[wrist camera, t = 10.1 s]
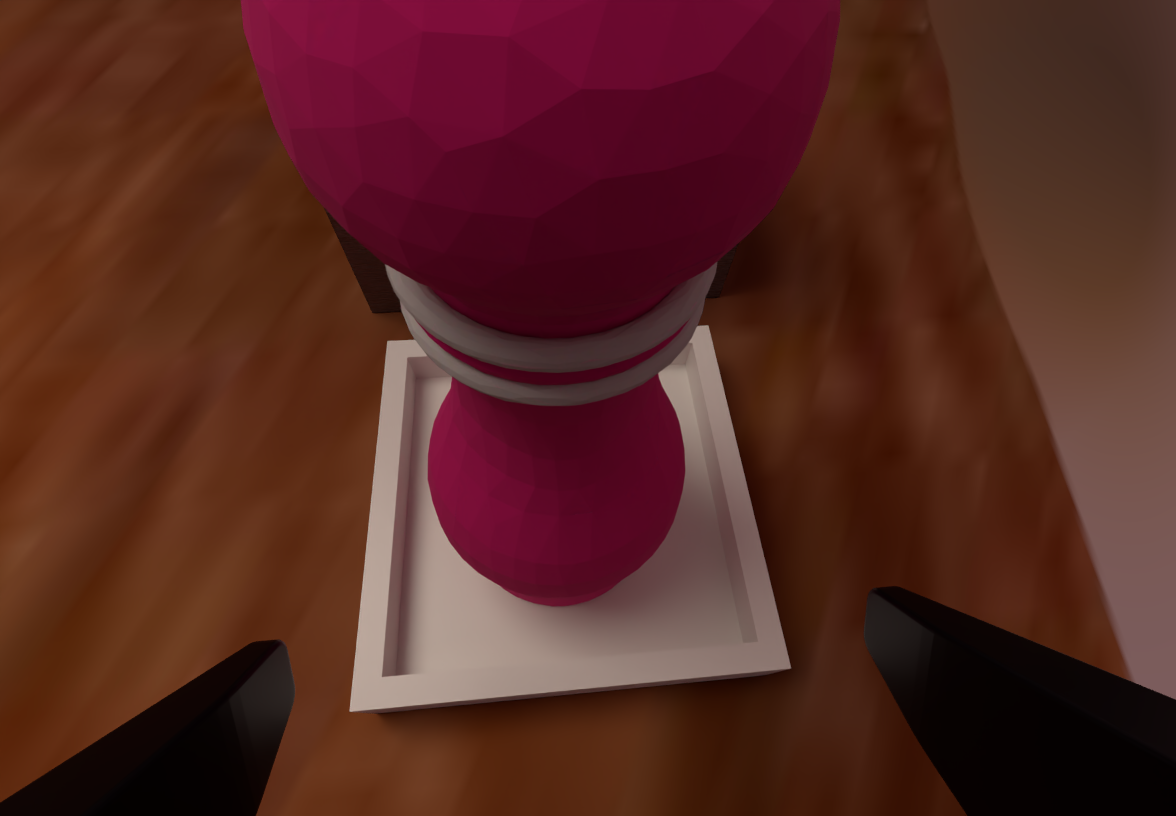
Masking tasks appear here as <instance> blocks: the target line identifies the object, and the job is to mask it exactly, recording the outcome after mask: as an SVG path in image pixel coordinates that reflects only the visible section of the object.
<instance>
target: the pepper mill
mask: <svg viewBox="0 0 1176 816" xmlns="http://www.w3.org/2000/svg"><path fill="white" fill-rule="evenodd" d="M241 6H242V16H243V27H244V32H245V36H246V39H247V42H248V45H249V48H250V51H251V54H252V58H253V61H254V64H255V67H256V70H257V73H258V76H259V80H260V83H261V86H262V89H263V92H264V95H265V99H266V102H267V105H268V108H269V111H270V114H271V117H272V121H273V124H274V126H275V128H276V130H277V132H278V134H279V136H280V138H281V140H282V142H283V144H284V146H285V148H286V150H287V152H288V154H289V156H290V158H291V160H292V162H293V163H294V165H295V167H296V169H297V170H298V172H299V174H300V175H301V177H302V179H303V181H304V182H305V184H306V186H307V188H308V189H309V191H310V192H311V193H312V194H313V195H314V197H315V198H316V199H317V200H318V201H319V202H320V203H321V204H322V205H323V207H324V208H325V209H326V210H327V211H328V212H329V213H330V214H331V215H332V217H333V218H334V219H335V220H336V221H337V222H338V223H339V224H340V225H341V226H342V227H343V228H344V229H345V230H346V231H347V232H348V233H349V234H350V235H351V236H352V237H354V238H355V239H356V240H357V241H358V242H359V243H361V244H362V245H363V246H364V247H365V248H366V249H368V250H369V251H370V252H371V253H372V254H373V255H375V256H376V257H377V258H378V259H379V260H380V261H382V262H383V263H384V264H385V266H386V271H387V275H388V278H389V280H390V282H391V285H392V287H393V289H394V292H395V293H396V295H397V296H398V298H399V300H400V304H401V310H402V313H403V316H404V318H405V320H406V323H407V325H408V328H409V330H410V332H411V334H412V335H413V337H414V339H415V340H416V342H417V343H418V344H419V346H420V347H421V348H422V350H423V351H424V352H425V353H426V355H427V356H428V357H429V358H430V359H431V360H432V361H433V362H434V363H435V364H436V365H437V366H438V367H439V368H441V369H442V370H443V371H445V372H446V373H448V374H449V375H450V376H452V382H451V389H450V390H449V392H448V394H447V396H446V397H445V399H444V401H443V403H442V404H441V406H440V409H439V411H438V413H437V416H436V418H435V420H434V424H433V428H432V433H431V437H430V443H429V451H428V478H427V479H428V484H429V488H430V493H431V497H432V502H433V505H434V508H435V511H436V514H437V516H438V519H439V522H440V525H441V527H442V529H443V531H444V533H445V535H446V537H447V538H448V540H449V542H450V544H451V545H452V546H453V547H454V549H455V550H456V551H457V553H458V554H459V555H460V556H461V558H462V559H463V560H464V561H466V562H467V563H468V564H469V565H470V566H471V567H472V568H473V569H474V570H476V571H477V572H478V573H479V574H481V575H482V576H484V577H486V578H487V579H489V580H491V581H492V582H494V583H496V584H497V585H500V586H501V587H502V588H503V589H504V590H506V591H508V592H509V593H511V594H513V595H514V596H516V597H518V598H521V599H523V600H526V601H529V602H532V603H535V604H541V605H547V606H569V605H576V604H579V603H583V602H586V601H590V600H592V599H594V598H596V597H598V596H601V595H603V594H604V593H606V592H607V591H609V590H610V589H612V588H613V587H614V586H615V585H617V584H618V583H619V582H620V581H621V580H623V579H624V578H626V577H627V576H629V575H630V574H632V573H633V572H635V571H636V570H638V569H639V568H640V567H641V566H642V565H643V564H644V563H645V562H646V561H647V560H648V559H649V558H650V557H652V556H653V554H654V553H655V552H656V550H657V549H658V548H659V546H660V545H661V544H662V542H663V541H664V540H665V538H666V536H667V534H668V532H669V530H670V528H671V526H672V524H673V522H674V519H675V516H676V513H677V509H678V506H679V503H680V499H681V495H682V491H683V486H684V479H685V472H686V470H685V449H684V443H683V438H682V433H681V427H680V423H679V420H678V417H677V414H676V411H675V409H674V407H673V405H672V403H671V401H670V399H669V398H668V396H667V394H666V392H665V390H664V389H663V387H662V384H661V382H660V379H659V374H658V373H659V372H660V371H662V370H663V369H664V368H666V367H667V366H668V365H670V364H671V363H672V362H673V361H674V359H675V358H676V357H677V356H678V355H679V354H680V353H681V352H682V350H683V349H684V348H685V347H686V345H687V344H688V343H689V341H690V340H691V339H692V336H693V334H694V332H695V330H696V327H697V325H698V323H699V320H700V317H701V315H702V312H703V307H704V302H705V296H706V295H707V293H708V291H709V288H710V286H711V284H712V281H713V279H714V277H715V273H716V268H717V261H718V260H719V259H721V258H722V257H723V256H724V255H725V254H726V253H728V252H729V251H730V250H731V249H732V248H733V247H735V246H736V245H737V244H738V243H739V242H740V241H742V240H743V239H744V238H745V237H746V236H747V235H749V234H750V233H751V232H752V230H753V229H754V228H755V227H756V226H757V225H758V224H759V223H760V222H761V221H762V220H763V219H764V218H765V217H766V216H767V215H768V214H769V213H770V212H771V211H772V210H773V208H774V206H775V205H776V203H777V201H778V199H779V198H780V196H781V194H782V192H783V191H784V189H785V187H786V185H787V184H788V182H789V180H790V178H791V177H792V175H793V173H794V171H795V170H796V168H797V166H798V164H799V162H800V160H801V158H802V155H803V153H804V151H805V149H806V146H807V144H808V142H809V140H810V137H811V134H812V131H813V129H814V126H815V123H816V120H817V117H818V114H819V111H820V109H821V106H822V103H823V100H824V97H825V94H826V91H827V89H828V84H829V79H830V73H831V67H832V62H833V56H834V50H835V45H836V39H837V33H838V28H839V22H840V0H241Z"/></svg>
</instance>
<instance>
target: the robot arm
mask: <svg viewBox="0 0 1176 816" xmlns="http://www.w3.org/2000/svg"><path fill="white" fill-rule="evenodd" d="M864 639H865V643H866V646H867V649H868V651H869V653H870V654H871V656H872V658H873V660H874V662H875V664H876V665H877V667H878V669H879V671H880V673H881V675H882V677H883V678H884V680H885V682H886V684H887V686H888V688H889V689H890V691H891V693H892V695H893V697H894V699H895V700H896V702H897V704H898V706H899V708H900V710H901V712H902V713H903V715H904V717H905V719H906V721H907V723H908V724H909V726H910V728H911V730H912V731H913V733H914V735H915V736H916V738H917V740H918V742H919V743H920V745H921V746H922V748H923V749H924V751H925V753H926V754H927V756H928V757H929V759H930V760H931V762H932V763H933V765H934V766H935V768H936V769H937V771H938V772H939V774H940V775H941V777H942V778H943V780H944V781H945V783H946V784H947V786H948V787H949V789H950V790H951V792H952V793H953V795H954V796H955V798H956V799H957V801H958V802H959V804H960V805H961V807H962V808H963V810H964V811H965V813H966V814H967V816H1176V700H1175V699H1173V698H1170V697H1168V696H1165V695H1163V694H1160V693H1158V692H1156V691H1153V690H1151V689H1148V688H1146V687H1143V686H1141V685H1139V684H1136V683H1134V682H1131V681H1129V680H1126V679H1124V678H1121V677H1119V676H1116V675H1114V674H1112V673H1109V672H1107V671H1104V670H1102V669H1099V668H1097V667H1094V666H1092V665H1090V664H1087V663H1085V662H1082V661H1080V660H1077V659H1075V658H1072V657H1070V656H1067V655H1065V654H1063V653H1060V652H1058V651H1055V650H1053V649H1050V648H1048V647H1045V646H1043V645H1040V644H1038V643H1036V642H1033V641H1031V640H1028V639H1026V638H1023V637H1021V636H1018V635H1016V634H1014V633H1011V632H1009V631H1006V630H1004V629H1001V628H999V627H996V626H994V625H991V624H989V623H987V622H984V621H982V620H979V619H977V618H974V617H972V616H969V615H967V614H965V613H962V612H960V611H957V610H955V609H952V608H950V607H947V606H945V605H942V604H940V603H938V602H935V601H933V600H930V599H928V598H925V597H923V596H920V595H918V594H915V593H913V592H911V591H908V590H906V589H903V588H901V587H897V586H891V587H880V588H873V589H872V590H871V591H870V592H869V594H868V598H867V607H866V617H865V626H864ZM294 697H295V684H294V679H293V674H292V669H291V664H290V660H289V655H288V650H287V647H286V645H285V643H284V642H283V641H281V640H267V641H256V642H252V643H250V644H248V645H247V646H245V647H244V648H242V649H241V650H239V651H237V652H236V653H234V654H233V655H231V656H230V657H228V658H226V659H225V660H223V661H222V662H220V663H219V664H217V665H215V666H214V667H212V668H211V669H209V670H208V671H206V672H204V673H203V674H201V675H200V676H198V677H197V678H195V679H194V680H192V681H190V682H189V683H187V684H186V685H184V686H183V687H181V688H179V689H178V690H176V691H175V692H173V693H172V694H170V695H168V696H167V697H165V698H164V699H162V700H161V701H159V702H157V703H156V704H154V705H153V706H151V707H150V708H148V709H146V710H145V711H143V712H142V713H140V714H139V715H137V716H135V717H134V718H132V719H131V720H129V721H128V722H126V723H124V724H123V725H121V726H120V727H118V728H117V729H115V730H113V731H112V732H110V733H109V734H107V735H106V736H104V737H102V738H101V739H99V740H98V741H96V742H95V743H93V744H91V745H90V746H88V747H87V748H85V749H84V750H82V751H80V752H79V753H77V754H76V755H74V756H73V757H71V758H69V759H68V760H66V761H65V762H63V763H62V764H60V765H59V766H57V767H55V768H54V769H52V770H51V771H49V772H48V773H46V774H44V775H43V776H41V777H40V778H38V779H37V780H35V781H33V782H32V783H30V784H29V785H27V786H26V787H24V788H22V789H21V790H19V791H18V792H16V793H15V794H13V795H11V796H10V797H8V798H7V799H5V800H4V801H2V802H0V816H256V814H257V811H258V808H259V805H260V803H261V800H262V797H263V794H264V791H265V788H266V785H267V782H268V779H269V776H270V773H271V770H272V767H273V764H274V761H275V758H276V755H277V752H278V749H279V746H280V743H281V739H282V736H283V733H284V730H285V727H286V724H287V721H288V718H289V715H290V712H291V709H292V706H293V702H294Z"/></svg>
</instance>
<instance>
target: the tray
mask: <svg viewBox="0 0 1176 816" xmlns="http://www.w3.org/2000/svg"><path fill="white" fill-rule="evenodd" d="M658 374H659V379H660V382H661V384H662V387H663V389H664V390H665V392H666V394H667V396H668V398H669V399H670V401H671V403H672V405H673V407H674V409H675V411H676V414H677V417H678V420H679V423H680V427H681V433H682V438H683V443H684V449H685V470H686V472H685V479H684V486H683V491H682V495H681V499H680V503H679V506H678V509H677V513H676V516H675V519H674V522H673V524H672V526H671V528H670V530H669V532H668V534H667V536H666V538H665V540H664V541H663V542H662V544H661V545H660V546H659V548H658V549H657V550H656V552H655V553H654V554H653V556H652V557H650V558H649V559H648V560H647V561H646V562H645V563H644V564H643V565H642V566H641V567H640V568H639V569H638V570H636V571H635V572H633V573H632V574H630V575H629V576H627V577H626V578H624V579H623V580H621V581H620V582H619V583H618V584H617V585H615V586H614V587H613V588H612V589H610V590H609V591H607V592H606V593H604V594H603V595H601V596H598V597H596V598H594V599H592V600H590V601H586V602H583V603H579V604H576V605H569V606H547V605H541V604H535V603H532V602H529V601H526V600H523V599H521V598H518V597H516V596H514V595H513V594H511V593H509V592H508V591H506V590H504V589H503V588H502V587H501V586H500V585H497V584H496V583H494V582H492V581H491V580H489V579H487V578H486V577H484V576H482V575H481V574H479V573H478V572H477V571H476V570H474V569H473V568H472V567H471V566H470V565H469V564H468V563H467V562H466V561H464V560H463V559H462V558H461V556H460V555H459V554H458V553H457V551H456V550H455V549H454V547H453V546H452V545H451V544H450V542H449V540H448V538H447V537H446V535H445V533H444V531H443V529H442V527H441V525H440V522H439V519H438V516H437V514H436V511H435V508H434V505H433V502H432V497H431V493H430V488H429V484H428V479H427V478H428V451H429V443H430V437H431V433H432V428H433V424H434V420H435V418H436V416H437V413H438V411H439V409H440V406H441V404H442V403H443V401H444V399H445V397H446V396H447V394H448V392H449V390H450V389H451V382H452V376H450V375H449V374H448V373H446V372H445V371H443V370H442V369H441V368H439V367H438V366H437V365H436V364H435V363H434V362H433V361H432V360H431V359H430V358H429V357H428V356H427V355H426V353H425V352H424V351H423V350H422V348H421V347H420V346H419V344H418V343H417V342H416V340H401V341H387V351H386V361H385V371H384V380H383V390H382V400H381V410H380V420H379V429H378V439H377V449H376V459H375V468H374V478H373V488H372V498H371V508H370V517H369V527H368V537H367V547H366V556H365V566H364V576H363V586H362V595H361V605H360V615H359V625H358V635H357V644H356V654H355V664H354V674H353V683H352V693H351V703H350V712H360V713H374V714H377V713H387V712H397V711H407V710H417V709H427V708H437V707H448V706H458V705H468V704H478V703H488V702H498V701H508V700H519V699H529V698H539V697H549V696H559V695H569V694H579V693H590V692H600V691H610V690H620V689H630V688H640V687H650V686H661V685H671V684H681V683H691V682H701V681H711V680H721V679H732V678H742V677H752V676H762V675H768V674H772V673H775V672H779V671H783V670H787V669H791V666H790V661H789V657H788V653H787V649H786V645H785V641H784V637H783V632H782V628H781V624H780V620H779V616H778V612H777V608H776V604H775V599H774V595H773V591H772V587H771V583H770V579H769V575H768V570H767V566H766V562H765V558H764V554H763V550H762V546H761V541H760V537H759V533H758V529H757V525H756V521H755V517H754V513H753V508H752V504H751V500H750V496H749V492H748V488H747V484H746V479H745V475H744V471H743V467H742V463H741V459H740V455H739V450H738V446H737V442H736V438H735V434H734V430H733V426H732V422H731V417H730V413H729V409H728V405H727V401H726V397H725V393H724V388H723V384H722V380H721V376H720V372H719V368H718V364H717V359H716V355H715V351H714V347H713V343H712V339H711V335H710V331H709V326H697V327H696V330H695V332H694V334H693V336H692V339H691V340H690V341H689V343H688V344H687V345H686V347H685V348H684V349H683V350H682V352H681V353H680V354H679V355H678V356H677V357H676V358H675V359H674V361H673V362H672V363H671V364H670V365H668V366H667V367H666V368H664V369H663V370H662V371H660V372H659V373H658Z"/></svg>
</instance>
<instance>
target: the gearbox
mask: <svg viewBox="0 0 1176 816" xmlns="http://www.w3.org/2000/svg"><path fill="white" fill-rule="evenodd" d="M324 209H325V208H324ZM325 211H326V213H327V215H328V217H329V220H330V222H331V224H332V226H333V228H334V230H335V233H336V235H337V237H338V239H339V241H340V244H341V246H342V248H343V250H344V252H345V254H346V257H347V259H348V261H349V263H350V265H351V267H352V270H353V272H354V274H355V276H356V278H357V280H358V283H359V285H360V287H361V289H362V291H363V294H364V296H365V298H366V300H367V302H368V304H369V307H370V309H371V311H372V313H375V312H398V311H402V310H401V304H400V300H399V298H398V296H397V295H396V293H395V292H394V289H393V287H392V285H391V282H390V280H389V278H388V275H387V271H386V266H385V264H384V263H383V262H382V261H380V260H379V259H378V258H377V257H376V256H375V255H373V254H372V253H371V252H370V251H369V250H368V249H366V248H365V247H364V246H363V245H362V244H361V243H359V242H358V241H357V240H356V239H355V238H354V237H352V236H351V235H350V234H349V233H348V232H347V231H346V230H345V229H344V228H343V227H342V226H341V225H340V224H339V223H338V222H337V221H336V220H335V219H334V218H333V217H332V215H331V214H330V213H329V212H328V211H327V210H326V209H325ZM738 244H739V243H738ZM738 244H737V245H736V246H735V247H733V248H732V249H731V250H730V251H729V252H728V253H726V254H725V255H724V256H723V257H722V258H721V259H719V260H718V261H717V268H716V273H715V277H714V279H713V281H712V284H711V286H710V288H709V291H708V293H707V295H706V296H705V298H711V297H719V296H720V293H721V290H722V288H723V285H724V282H725V279H726V277H727V274H728V271H729V268H730V266H731V263H732V260H733V257H734V255H735V252H736V249H737V246H738Z"/></svg>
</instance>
